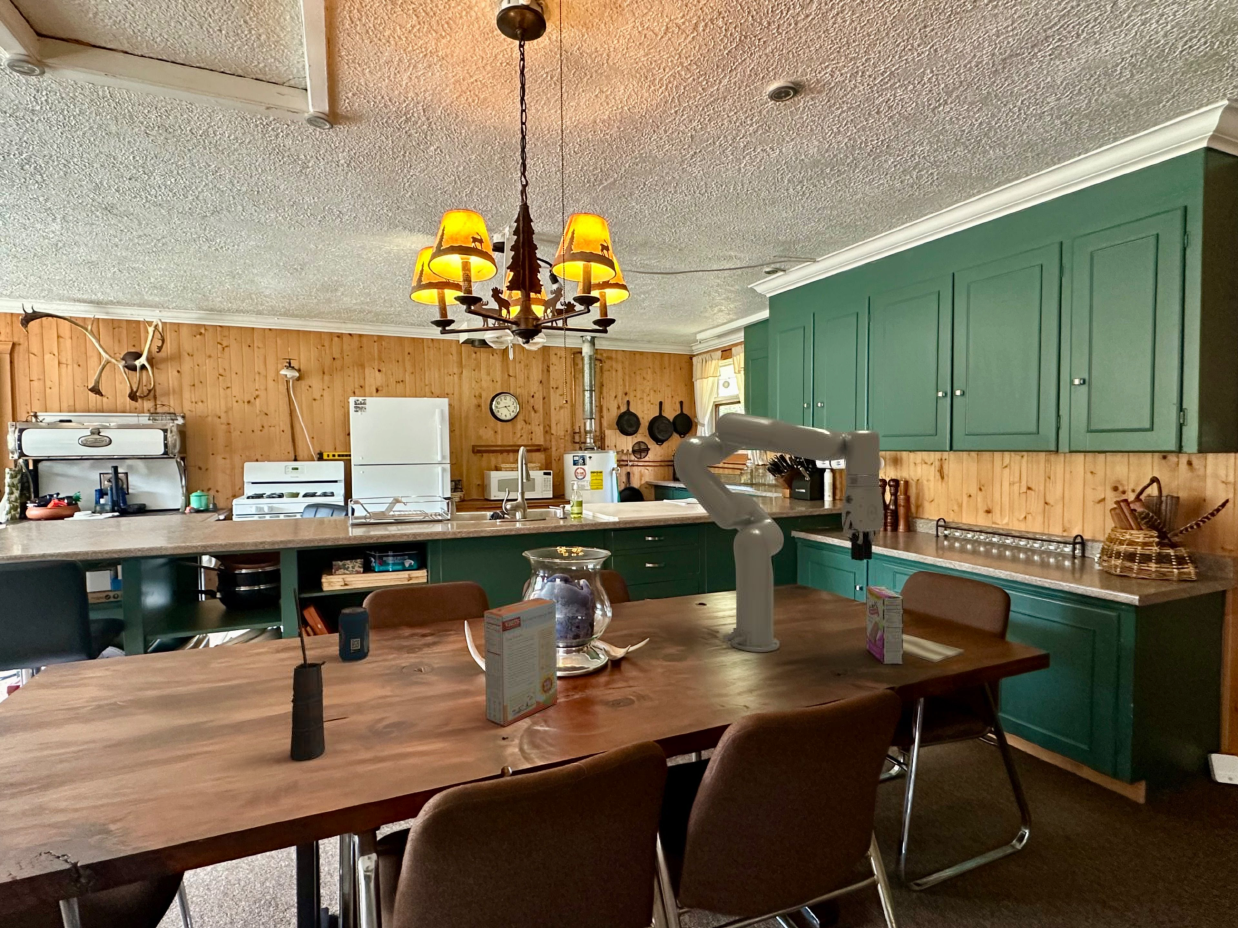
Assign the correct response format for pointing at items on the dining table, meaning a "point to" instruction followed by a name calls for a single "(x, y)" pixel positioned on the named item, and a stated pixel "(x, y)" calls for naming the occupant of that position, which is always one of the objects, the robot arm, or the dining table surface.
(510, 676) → the cracker box
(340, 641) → the soda can
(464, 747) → the dining table surface
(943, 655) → the beige flat rectangular panel
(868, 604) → the candy bar box
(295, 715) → the butter churn
